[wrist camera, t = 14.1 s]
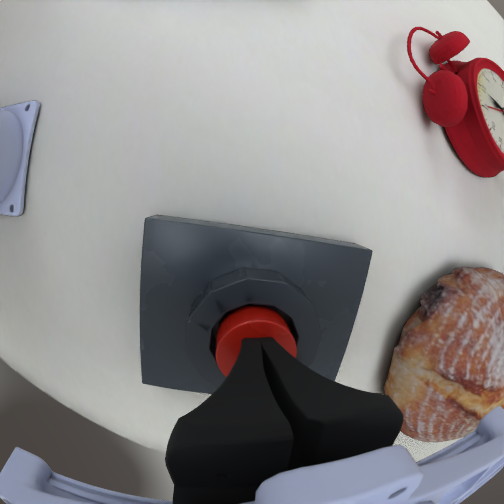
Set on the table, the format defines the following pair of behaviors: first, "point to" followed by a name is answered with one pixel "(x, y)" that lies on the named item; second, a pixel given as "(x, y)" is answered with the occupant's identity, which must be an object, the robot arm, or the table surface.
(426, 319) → the bread
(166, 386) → the button box
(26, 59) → the table surface
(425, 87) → the alarm clock
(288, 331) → the button
